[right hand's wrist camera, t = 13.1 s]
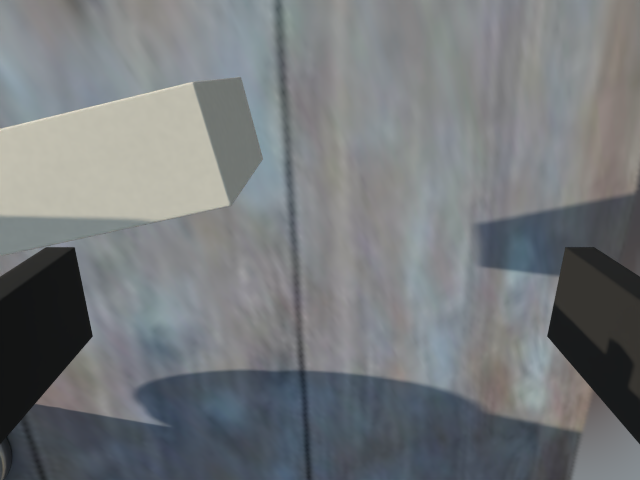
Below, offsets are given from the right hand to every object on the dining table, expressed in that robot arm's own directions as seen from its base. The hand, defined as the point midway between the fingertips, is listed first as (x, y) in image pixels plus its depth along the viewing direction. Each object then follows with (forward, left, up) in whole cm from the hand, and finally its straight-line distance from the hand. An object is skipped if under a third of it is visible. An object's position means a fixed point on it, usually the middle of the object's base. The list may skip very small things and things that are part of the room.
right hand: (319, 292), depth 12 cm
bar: (+17, -9, -15) cm, 25 cm away
